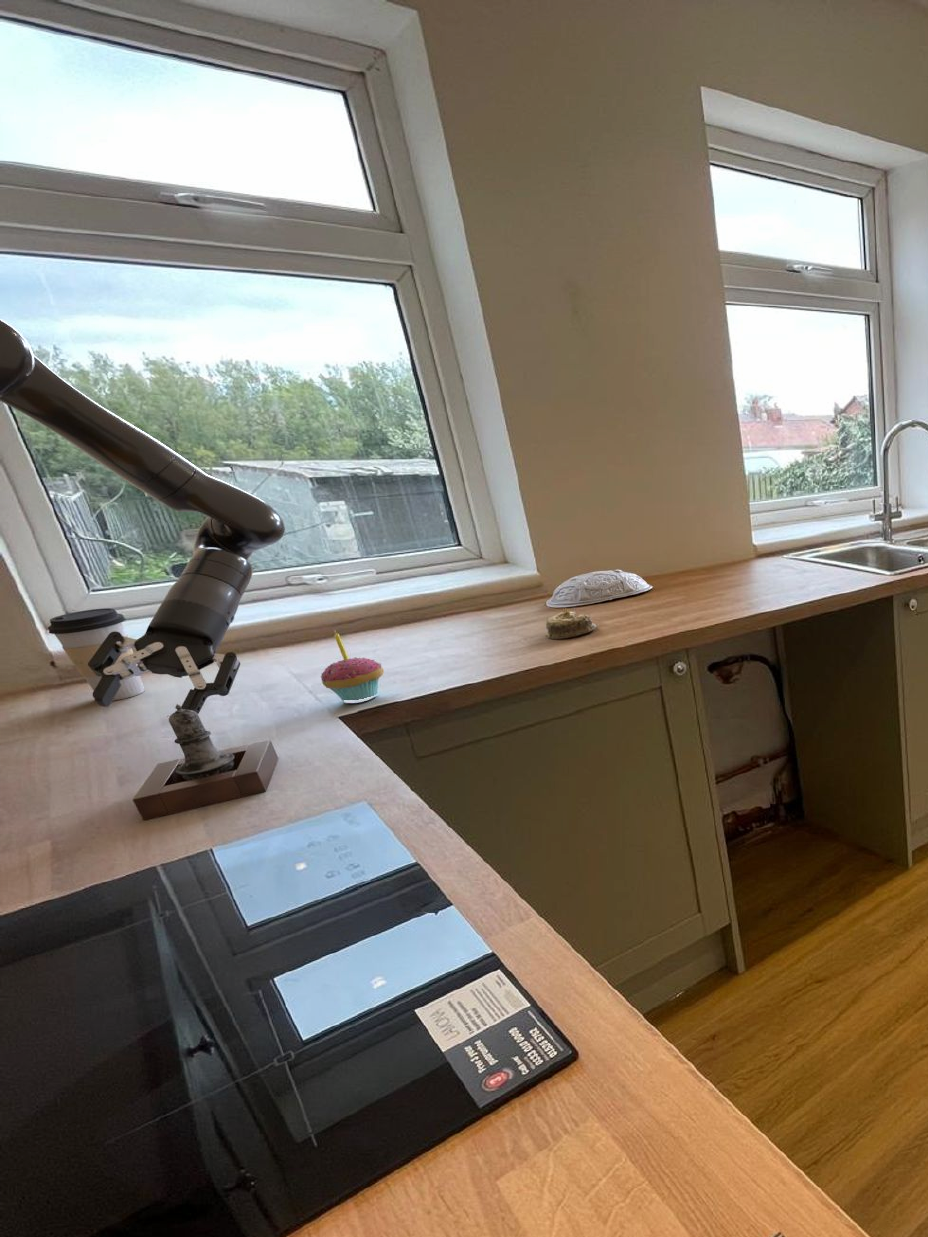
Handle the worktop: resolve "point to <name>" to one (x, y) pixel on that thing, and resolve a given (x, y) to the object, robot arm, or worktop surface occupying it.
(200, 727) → the grey stone finial
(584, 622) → the cake
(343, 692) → the cupcake
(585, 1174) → the worktop surface
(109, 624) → the coffee cup
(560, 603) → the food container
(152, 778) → the brown rectangular frame
